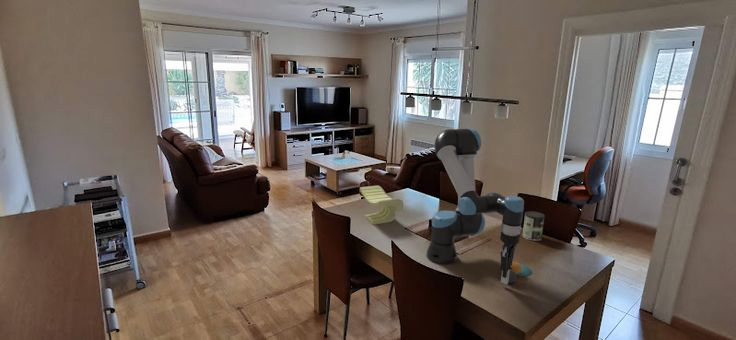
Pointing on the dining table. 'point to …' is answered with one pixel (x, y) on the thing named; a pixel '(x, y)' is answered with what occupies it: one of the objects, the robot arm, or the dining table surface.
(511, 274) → the charcoal ball
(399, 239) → the dining table surface
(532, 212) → the coffee can
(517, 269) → the orange ball
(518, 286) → the dining table surface
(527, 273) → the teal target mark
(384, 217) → the slatted curved stool
